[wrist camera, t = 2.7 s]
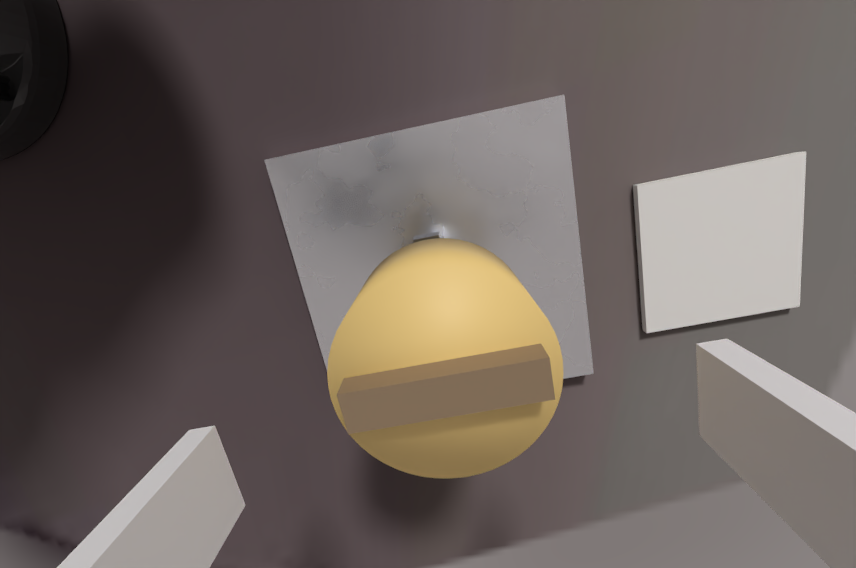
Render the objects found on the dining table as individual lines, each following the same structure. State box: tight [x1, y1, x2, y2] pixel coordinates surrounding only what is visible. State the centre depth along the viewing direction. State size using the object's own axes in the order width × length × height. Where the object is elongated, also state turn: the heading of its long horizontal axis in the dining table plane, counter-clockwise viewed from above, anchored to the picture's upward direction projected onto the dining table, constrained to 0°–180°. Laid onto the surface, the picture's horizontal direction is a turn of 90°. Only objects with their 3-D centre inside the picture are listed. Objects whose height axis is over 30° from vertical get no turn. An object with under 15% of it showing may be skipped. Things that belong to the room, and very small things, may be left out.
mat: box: [633, 152, 806, 333], centre depth 27 cm, size 10×10×1 cm
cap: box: [327, 238, 563, 479], centre depth 15 cm, size 8×8×6 cm
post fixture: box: [265, 95, 594, 379], centre depth 23 cm, size 18×18×10 cm
